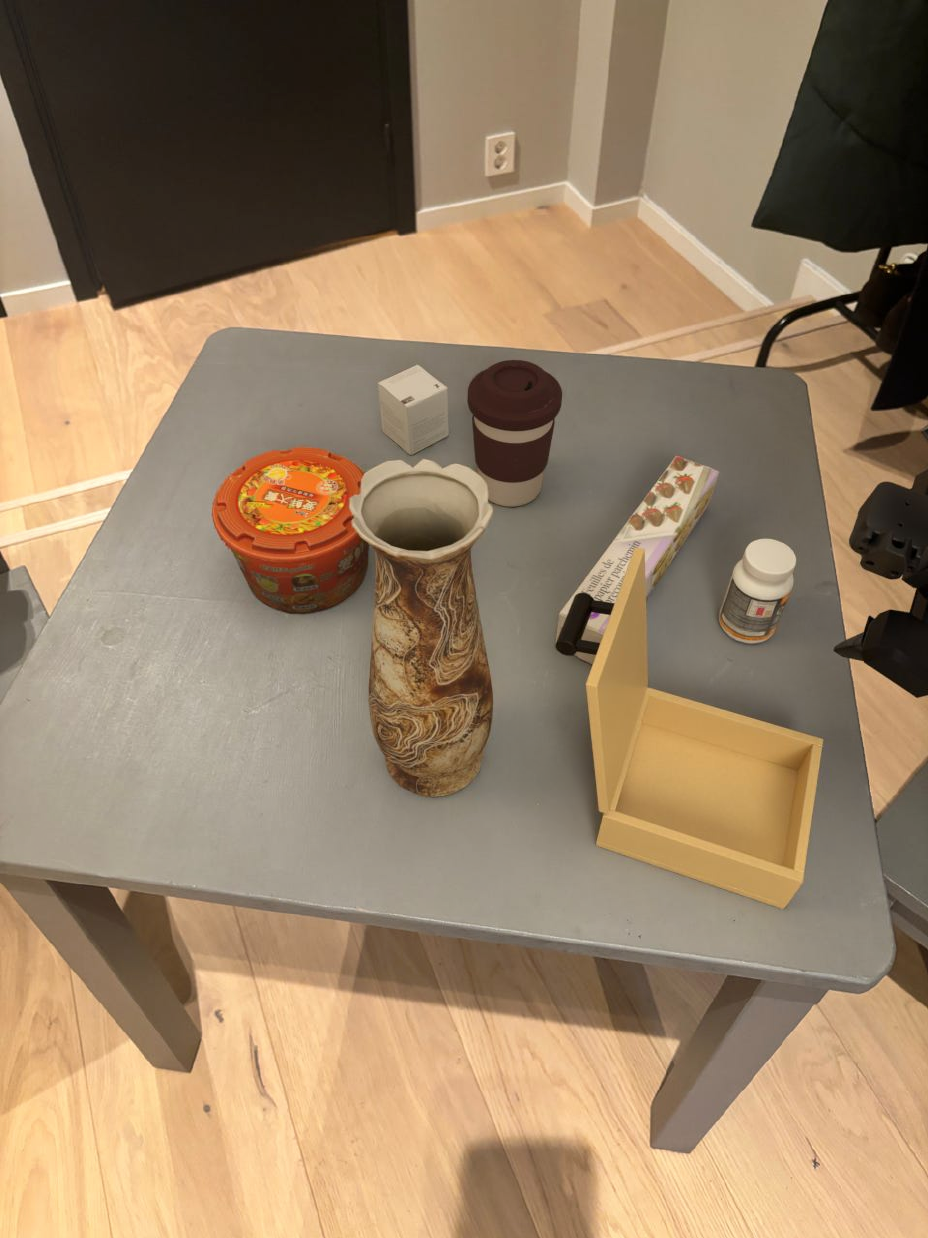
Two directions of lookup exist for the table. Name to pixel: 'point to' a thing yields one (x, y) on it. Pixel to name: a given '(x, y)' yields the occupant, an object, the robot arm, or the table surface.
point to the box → (647, 539)
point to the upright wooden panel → (612, 671)
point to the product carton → (414, 409)
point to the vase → (426, 622)
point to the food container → (294, 528)
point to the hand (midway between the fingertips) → (852, 607)
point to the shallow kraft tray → (716, 798)
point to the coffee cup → (513, 428)
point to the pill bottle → (758, 591)
